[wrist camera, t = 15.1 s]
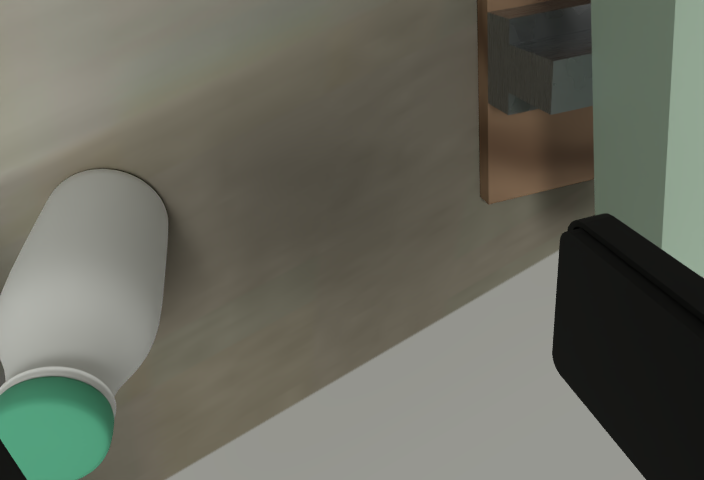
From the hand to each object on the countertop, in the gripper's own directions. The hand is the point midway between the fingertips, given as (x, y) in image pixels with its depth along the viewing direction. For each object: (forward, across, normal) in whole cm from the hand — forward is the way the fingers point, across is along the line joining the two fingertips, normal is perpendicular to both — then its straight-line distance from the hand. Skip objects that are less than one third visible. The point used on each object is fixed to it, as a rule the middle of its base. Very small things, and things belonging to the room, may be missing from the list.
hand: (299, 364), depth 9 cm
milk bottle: (+31, +10, +10) cm, 34 cm away
